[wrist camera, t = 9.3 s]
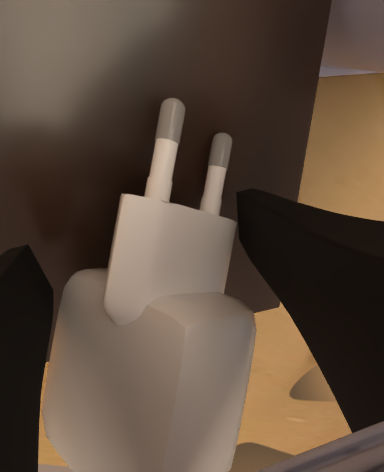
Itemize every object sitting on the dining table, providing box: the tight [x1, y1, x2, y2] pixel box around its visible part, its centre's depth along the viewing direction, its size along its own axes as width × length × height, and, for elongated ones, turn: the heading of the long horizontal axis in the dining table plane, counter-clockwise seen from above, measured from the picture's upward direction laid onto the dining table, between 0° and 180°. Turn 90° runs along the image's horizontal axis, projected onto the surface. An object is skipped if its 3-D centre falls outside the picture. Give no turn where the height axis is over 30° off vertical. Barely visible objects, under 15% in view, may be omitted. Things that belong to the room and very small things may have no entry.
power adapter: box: [42, 98, 256, 472], centre depth 10 cm, size 11×5×6 cm
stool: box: [0, 0, 332, 362], centre depth 14 cm, size 14×14×5 cm
